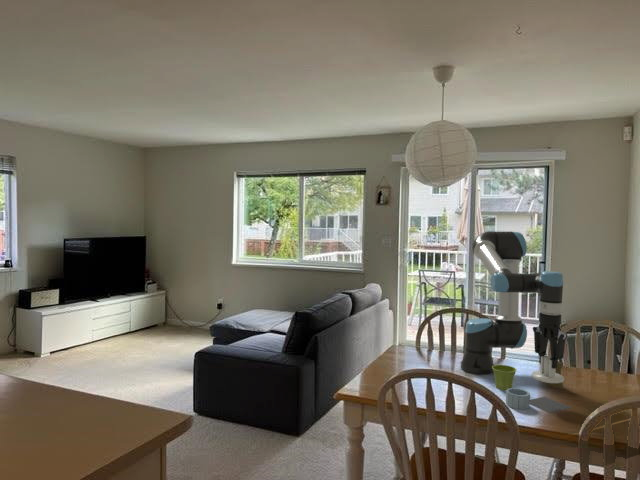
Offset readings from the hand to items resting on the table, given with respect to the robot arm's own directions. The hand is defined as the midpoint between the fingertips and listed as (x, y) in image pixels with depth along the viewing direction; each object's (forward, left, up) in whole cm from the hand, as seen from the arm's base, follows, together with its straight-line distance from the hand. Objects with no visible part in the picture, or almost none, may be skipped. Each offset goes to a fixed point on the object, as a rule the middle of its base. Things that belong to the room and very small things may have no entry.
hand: (547, 374), depth 178 cm
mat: (0, 0, -12) cm, 12 cm away
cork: (-13, +21, -12) cm, 27 cm away
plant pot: (-20, -1, -12) cm, 23 cm away
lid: (0, 0, -1) cm, 1 cm away
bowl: (-4, -11, -12) cm, 17 cm away
